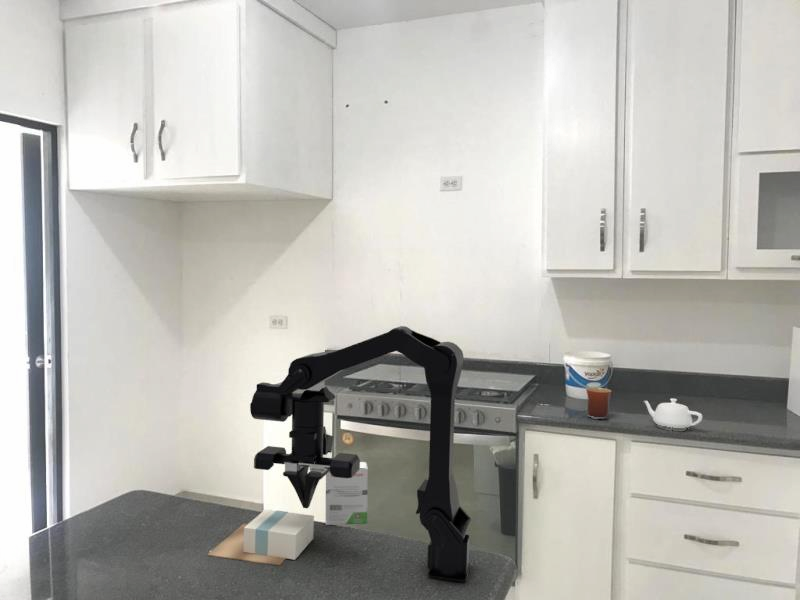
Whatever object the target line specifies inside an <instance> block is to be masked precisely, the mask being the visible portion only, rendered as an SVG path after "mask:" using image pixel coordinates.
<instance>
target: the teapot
mask: <svg viewBox="0 0 800 600" xmlns="http://www.w3.org/2000/svg"><path fill="white" fill-rule="evenodd" d="M669 400H670V401H671V402H660V403H659V404H658V405H657V406H656V408H655V410H653V408H652V406H651V404H650V403H649V401H648V400H643V403H644V404H645V406H646V408H647V410H648V413H649V415H650V416H651V418H652V419H653V422H655V423H656V424H658V425H661V426H667V427H671V428H672V427H673V428H685V427H690V426H691V427H692V426H697V425H698V424H700V423H701V422H702V421H703V414H702V413H701V412H698V411H693V410H690V409H689V407H688V406H687V405H684V404H680V403H677V401H678V399H677V398H674V397H673V398H670V399H669ZM692 415H693V416H697V417H698V418H697V420H696V421H694V420H693V418H692ZM655 423H654V424H655ZM656 424H655V425H656ZM691 427H690V428H691Z"/></svg>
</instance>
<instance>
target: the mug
mask: <svg viewBox="0 0 800 600" xmlns="http://www.w3.org/2000/svg"><path fill="white" fill-rule="evenodd" d="M585 391H586V395H587V406H586V407H587V408H586V412H587V413H586V414H587V416H588V415H590V416H594V417H606V416H608V417H609V413H610V398H611V394H612V391H613V390H611V389H608V388H603V387H587V388H586V389H585Z"/></svg>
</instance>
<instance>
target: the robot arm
mask: <svg viewBox="0 0 800 600" xmlns="http://www.w3.org/2000/svg"><path fill="white" fill-rule="evenodd" d="M394 352H397V353H400V354H402V355H403V356H405V357H406V358H407V359H409V360H410V361H412V362H413V363H415V364H416V365H419V366H420V367H422V368H423V370H424V375H425V382H426V385H427V386H426V387H427V389H428V391H429V397H430V414H429V415H430V417H429V418H430V419H429V420H430V423H429V455H428V462H429V463H428V479H424V480H423V481H422V483H421V484H420V485H419V487H418V488H417V490H416V497H417V509H416V511H415V514H416V515H419V521H420V524H421V525H422V526H423V527H424V529H425V530H426V531H427V533H428V535H429V538H430V541H429V543H428V545H427V558H426V559H427V561H426V562H427V563H426V564H427V565H426V568H427V570H428V573H427V577H428V578H431V579H437V580H438V579H439V580H443V581H444V580H445V581H451V582H452V581H453V582H459V583H466V582H467V579H468V575H469V571H470V567H471V562H469V561H470V559H469V557H470V535H469V534H467V531H468V529H469V526H470V524H471V522H472V518H471V517H470V516H469V514H468V513H467V512H466V511H465V509H464V508H462V506H461V505H460V502H459V500H460V499H459V493H458V487H457V483H456V481H455V480H456V479H455V477H454V472H453V469H454V441H455V439H454V437H455V436H454V435H455V432H454V431H455V402H456V401H455V398H456V392H457V389H458V386H459V385H458V384H459V381H460V378H461V373H462V369H463V363H464V357H465V356H464V353H463V350H462V349H461V348H460V346H458V344H457V343H454V342H451V341H440V340H437V339H435V338H433V337H430V336H427V335H424V334H422V333H419V332H416V331H414V330H412V329H411V328H410V327H408V326H404V325H402V326H397V327H394V328H392V329H390V330H389V331H388V332H385V333H382V334H379V335H376V336H374V337H370V338H368V339H365V340H362V341H360V342H358V343H355V344H352V345H349V346H347V347H346V346H345V347H343V348H340V349H337V350H336V349H335V350H329V351H322V352H316V353H311V354H308V355H304V356H302V357H298V358H296V359H295V358H294V360H292V361H291V362H290V363H289V364H290V365H289V367H288V372H287V375H286V377H284V379H283V381H282V382H281V383H280V384H276V383H275V384H274V383H273V384H272V383H270V382H259V383H257V384H256V390H255V391H254V394H253V395H252V398H251V403H250V404H249V408H250V409H249V411H250V415H251V417H252V418H253V419H254V420H263V421H270V422H272V421H273V422H280V423H281V422H283V423H284V422H286V421H287V420H288V418H290V417H291V430H289V434H288V436H289V438H291V453H287V450H286V448H285V447H282V446H281V447H280V446H272V445H271V446H270V445H268V446H266V447H264V448H262V449H261V450H259V451H258V452H256V454H255V455H254V458H253V468H254V470H255V469H256V470H265V471H269V470H270V469H272V468H273V466H274V465H275V464H277V465H284V471H283V472H282V475H283V477H286V478H287V479H288V481H289V482H290V484H291V485H292V487H293V488H294V490H295V493H296V495H297V497H298V500H299V501H300V504H301V505H302V508H303V509H308V508H310V505H311V503H312V500H313V497H314V494H315V492H316V488H317V486H318V484H319V482H320V480H322V479H323V478H324V477H326V474H327V473H328V472H329V471H330V473H331V474H332V476H333V477H339V478H352V477H353V476H354V474H355V473H356V472H357V471H358V470H359V469H360V462H361V459H360V457H359V456H358V454H356V453H355V454H354V453H342V452H338V453H337V454H336V455H335V456H334V457H325V456H327V454H328V453H330V454H331V453H332V452H333V445H334V444H333V443H334V439H335V438H334V435H330V434H328V433H326V432H327V431H326V430H327V429H326V426H324V422H325V421H324V420H325V419H324V415H325V414H324V410H325V409H324V408H325V403H329V402H331V401H333V400H335V399H336V395H335V394H334V393H333V392H331V391H330V389H328V387H327V386H324V387H322V388H321V389H319V390H315V389H311V388H313V387H315V386H317V385H320V384H322V383H324V382H326V381H327V380H329V379H330V378H332V377H334V376H336V375H337V374H339V373H340V372H342V371H344V370H346V369H348V368H353V367H354V366H358V365H360V364H363V363H366V362H370V361H371V360H374V359H377V358H380V357H382V356H386V355H388V354H392V353H394ZM298 390H301V391H303V390H304V391H303V392H302V393H296V391H298Z"/></svg>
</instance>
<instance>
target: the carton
mask: <svg viewBox="0 0 800 600" xmlns="http://www.w3.org/2000/svg"><path fill="white" fill-rule="evenodd" d="M314 519H315V516H314V515H313V514H304V513H298V512H297V513H296V512H289V511H284V510H278V509H277V510H275V509H268V508H265V509H264V510H263V511H262V512H260V514H258V515H257V516H256V517H255V518H254V519H252V520H250V522H249V523H247V524H248V525H247V526H245V527H244V549H243V552H248V553H254V554H258V555H264V556H274V557H280V558H286V560H287V559H289V560H293V561H294V560H297V558H298V557H299V556H300V555H301V553H302V552H303V551H304V550H305V549H306V547H308V545H309V544H310V543H311V542H312V541H313V540H314V525H315V522H314V521H315V520H314Z"/></svg>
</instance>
